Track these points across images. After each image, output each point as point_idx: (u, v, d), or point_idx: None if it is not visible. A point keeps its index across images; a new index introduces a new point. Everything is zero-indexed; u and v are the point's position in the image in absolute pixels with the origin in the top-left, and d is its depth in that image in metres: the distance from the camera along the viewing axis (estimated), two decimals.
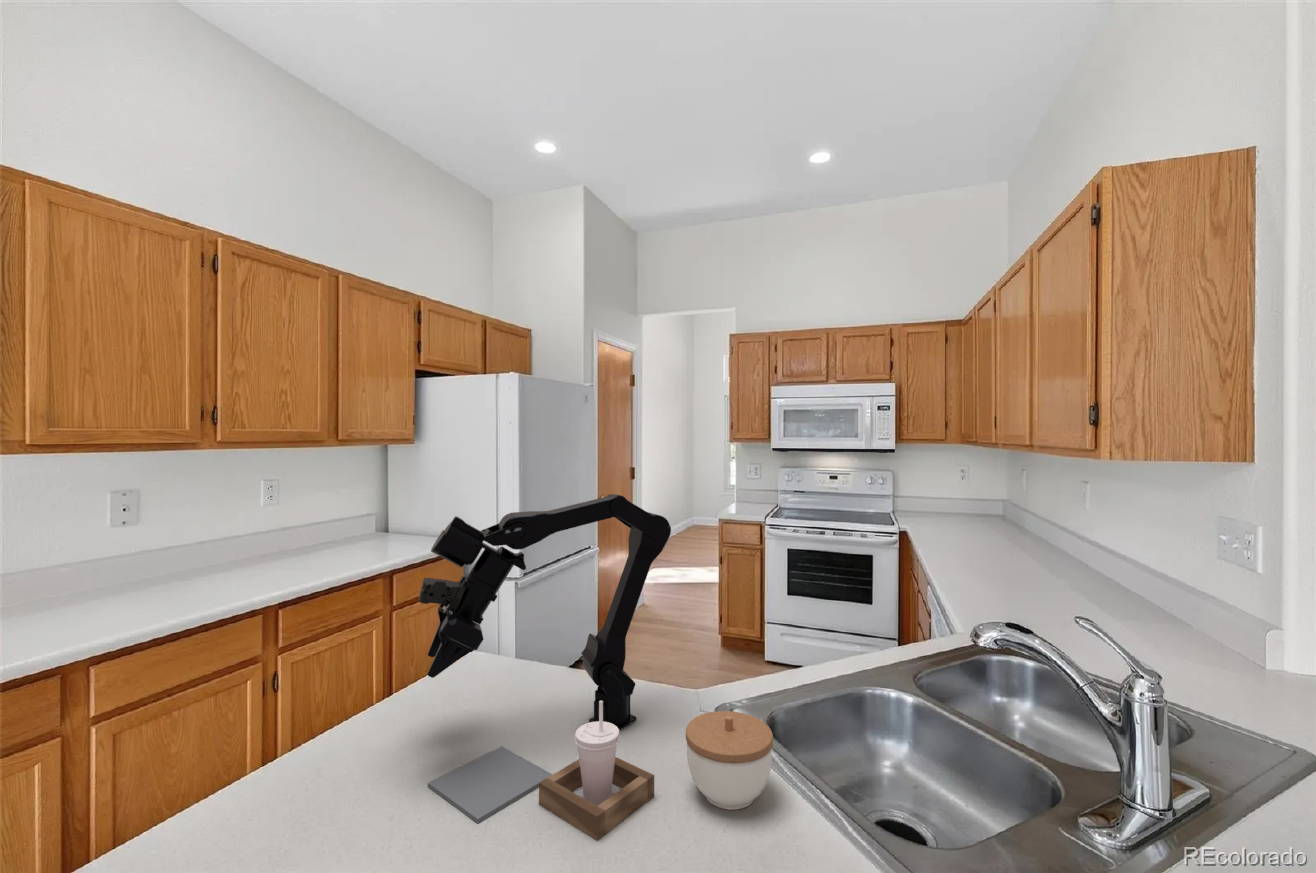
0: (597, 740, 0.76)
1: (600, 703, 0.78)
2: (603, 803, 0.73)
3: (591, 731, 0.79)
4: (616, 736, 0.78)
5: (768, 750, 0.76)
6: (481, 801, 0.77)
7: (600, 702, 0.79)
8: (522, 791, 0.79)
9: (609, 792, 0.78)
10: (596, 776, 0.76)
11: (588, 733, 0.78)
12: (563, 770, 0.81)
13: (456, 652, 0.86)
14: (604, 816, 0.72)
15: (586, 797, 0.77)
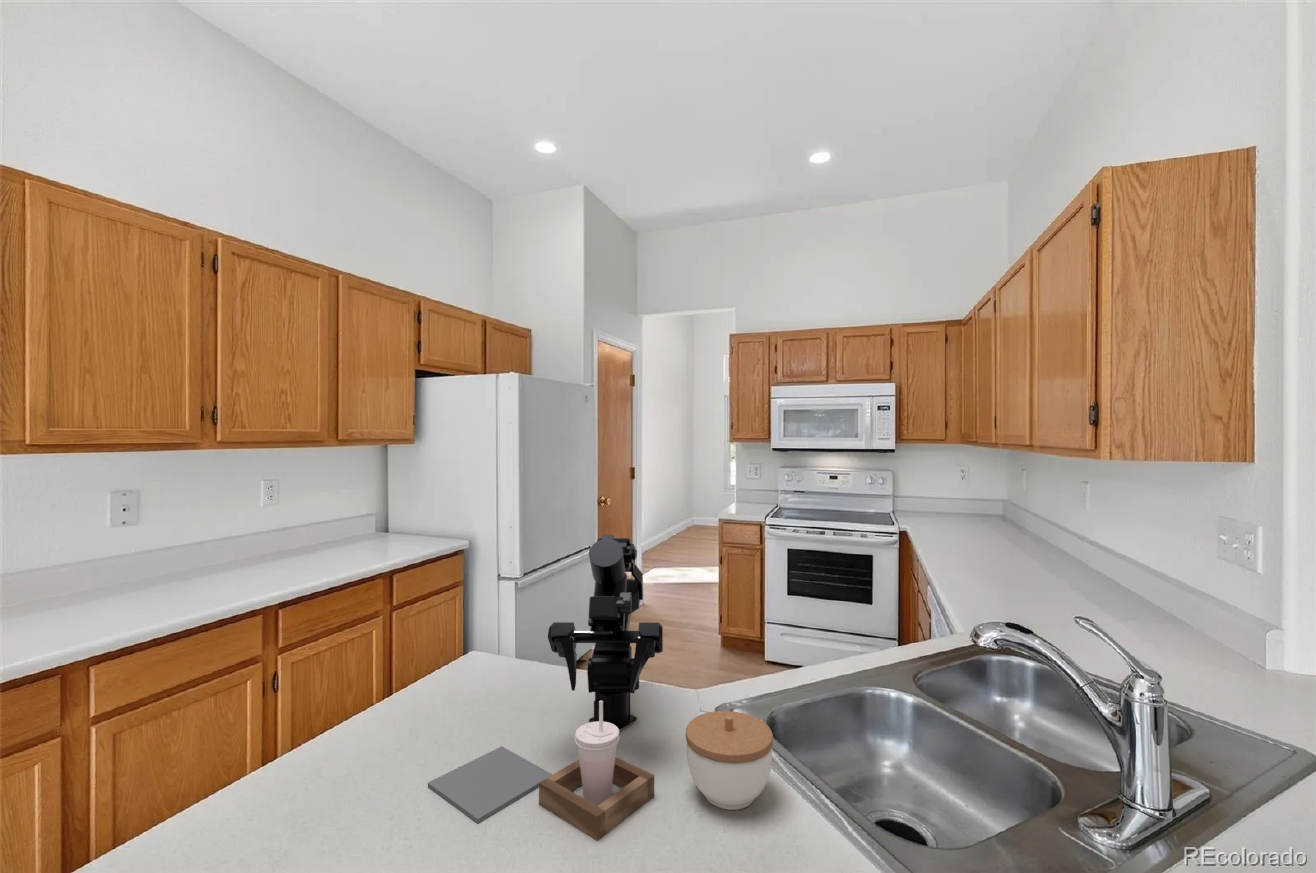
0: (597, 740, 0.76)
1: (600, 703, 0.78)
2: (603, 803, 0.73)
3: (591, 731, 0.79)
4: (616, 736, 0.78)
5: (768, 750, 0.76)
6: (481, 801, 0.77)
7: (600, 702, 0.79)
8: (522, 791, 0.79)
9: (609, 792, 0.78)
10: (596, 776, 0.76)
11: (589, 733, 0.78)
12: (563, 770, 0.81)
13: (642, 661, 0.90)
14: (604, 816, 0.72)
15: (586, 797, 0.77)
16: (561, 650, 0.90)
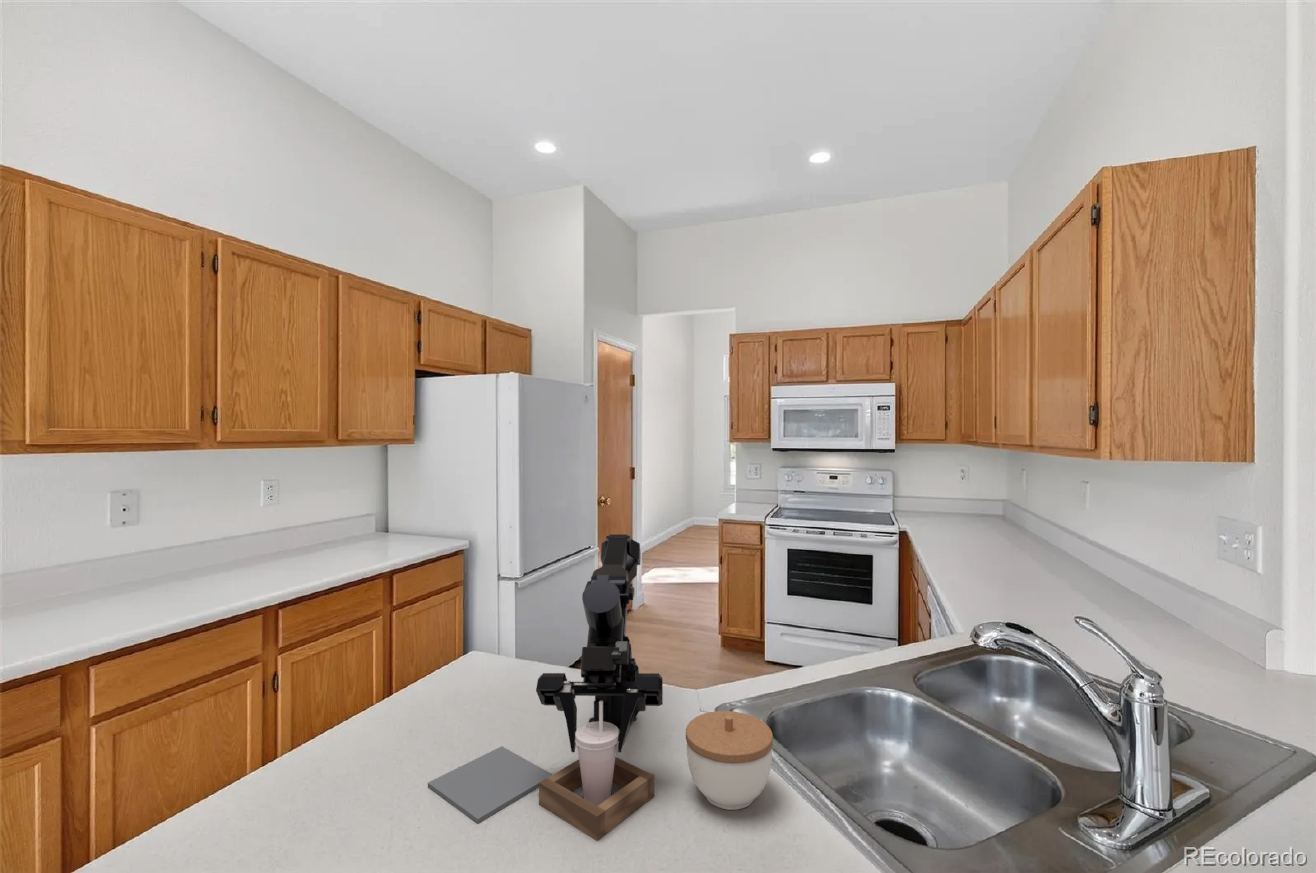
0: (597, 740, 0.76)
1: (600, 703, 0.78)
2: (603, 803, 0.73)
3: (591, 731, 0.78)
4: (616, 736, 0.78)
5: (768, 750, 0.76)
6: (481, 801, 0.77)
7: (600, 702, 0.79)
8: (522, 791, 0.79)
9: (609, 792, 0.78)
10: (596, 776, 0.76)
11: (588, 733, 0.78)
12: (563, 770, 0.81)
13: (632, 716, 0.82)
14: (604, 816, 0.72)
15: (586, 797, 0.77)
16: (560, 704, 0.82)
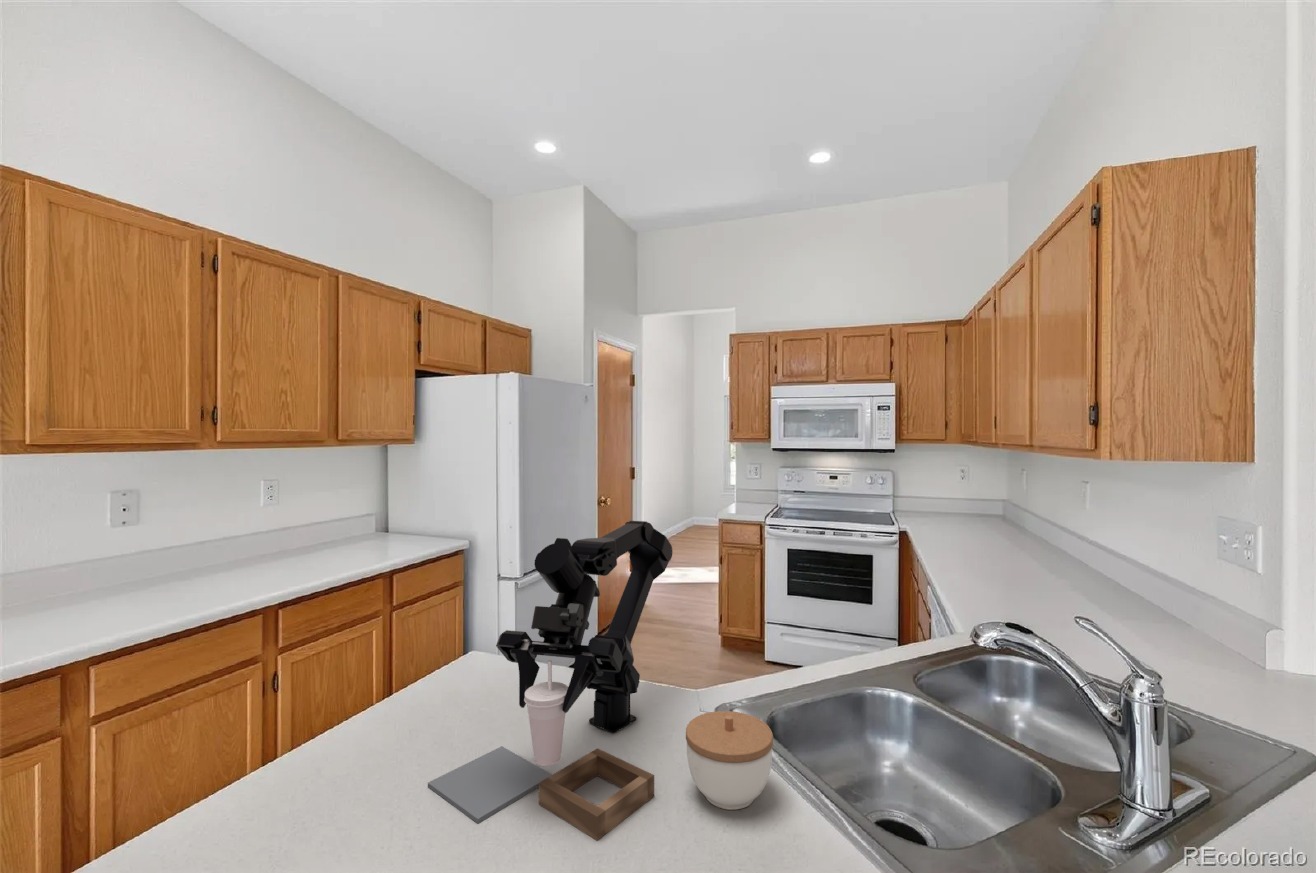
0: (541, 698, 0.77)
1: (548, 662, 0.79)
2: (603, 803, 0.73)
3: (541, 689, 0.79)
4: (562, 696, 0.77)
5: (768, 750, 0.76)
6: (481, 801, 0.77)
7: (548, 662, 0.79)
8: (522, 791, 0.79)
9: (556, 751, 0.78)
10: (540, 733, 0.77)
11: (537, 691, 0.79)
12: (563, 770, 0.81)
13: (585, 679, 0.81)
14: (604, 816, 0.72)
15: (534, 753, 0.78)
16: None
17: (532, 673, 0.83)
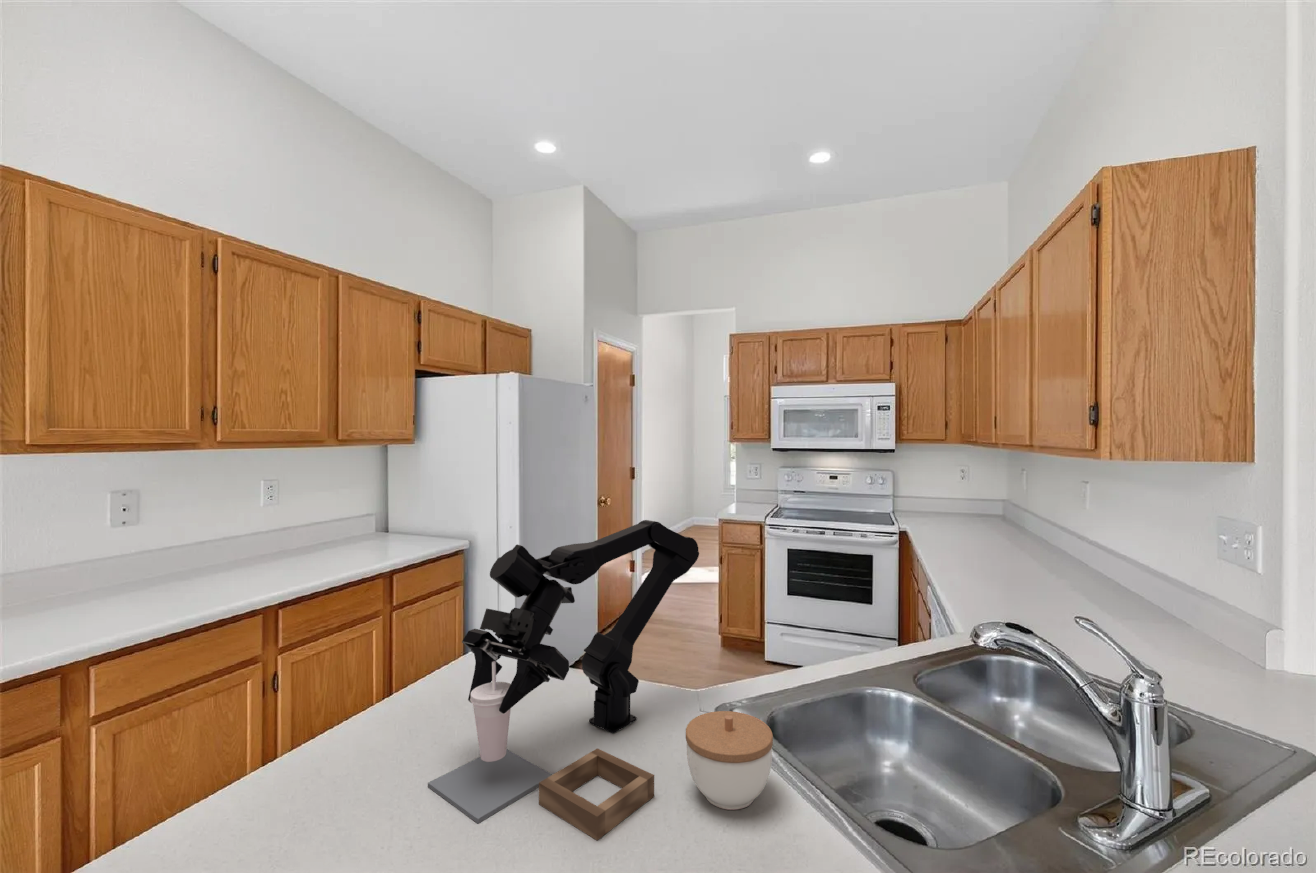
0: (481, 697, 0.81)
1: (492, 663, 0.83)
2: (603, 803, 0.73)
3: (487, 688, 0.83)
4: (500, 697, 0.81)
5: (768, 750, 0.76)
6: (481, 801, 0.77)
7: (492, 662, 0.83)
8: (522, 791, 0.79)
9: (497, 749, 0.81)
10: (481, 730, 0.81)
11: (484, 689, 0.83)
12: (563, 770, 0.81)
13: (530, 683, 0.83)
14: (604, 816, 0.72)
15: (479, 748, 0.82)
16: None
17: (489, 671, 0.87)
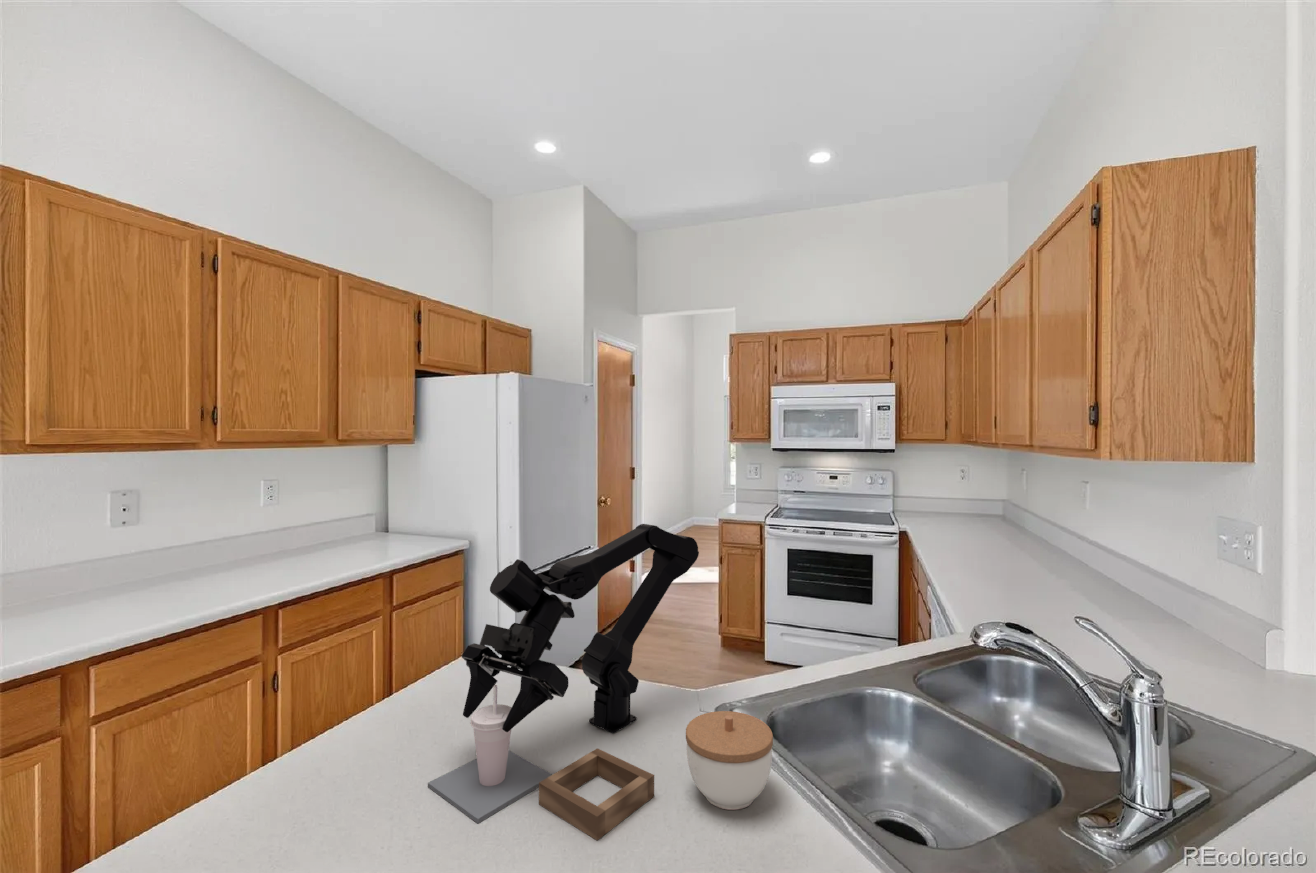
0: (481, 721, 0.81)
1: (493, 687, 0.82)
2: (603, 803, 0.73)
3: (488, 712, 0.83)
4: (500, 722, 0.80)
5: (768, 750, 0.76)
6: (481, 801, 0.77)
7: (494, 686, 0.83)
8: (522, 791, 0.79)
9: (496, 774, 0.81)
10: (480, 754, 0.81)
11: (484, 713, 0.83)
12: (563, 770, 0.81)
13: (534, 701, 0.83)
14: (604, 816, 0.72)
15: None
16: None
17: (484, 686, 0.88)
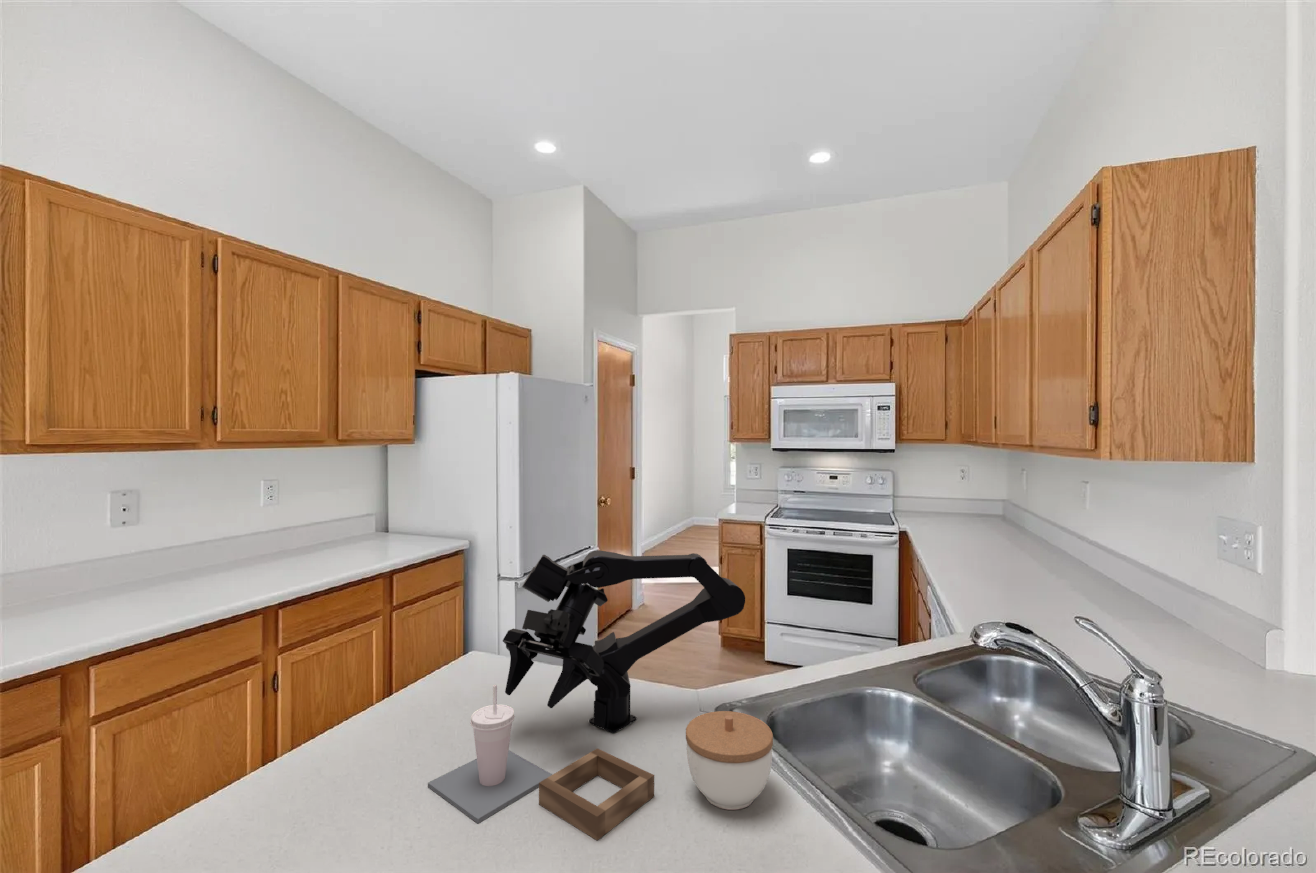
0: (481, 721, 0.81)
1: (493, 687, 0.83)
2: (603, 803, 0.73)
3: (488, 711, 0.83)
4: (500, 722, 0.81)
5: (768, 750, 0.76)
6: (481, 801, 0.77)
7: (493, 686, 0.83)
8: (522, 791, 0.79)
9: (496, 774, 0.81)
10: (480, 754, 0.81)
11: (484, 713, 0.83)
12: (563, 770, 0.81)
13: (574, 681, 0.90)
14: (604, 816, 0.72)
15: None
16: None
17: (523, 666, 0.95)
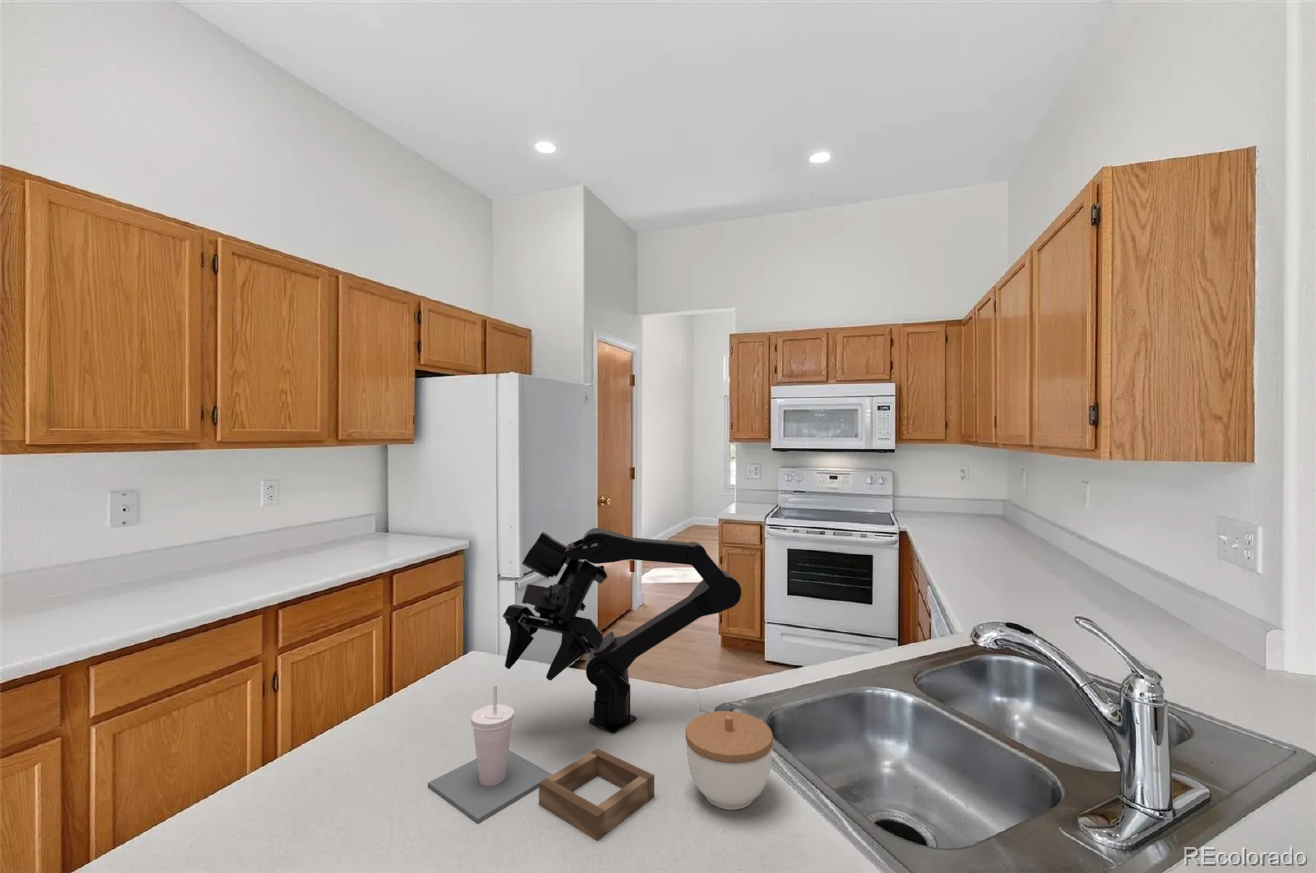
0: (481, 721, 0.81)
1: (493, 687, 0.83)
2: (603, 803, 0.73)
3: (488, 711, 0.83)
4: (500, 722, 0.81)
5: (768, 750, 0.76)
6: (481, 801, 0.77)
7: (493, 686, 0.83)
8: (522, 791, 0.79)
9: (496, 774, 0.81)
10: (480, 754, 0.81)
11: (484, 713, 0.83)
12: (563, 770, 0.81)
13: (573, 654, 0.91)
14: (604, 816, 0.72)
15: None
16: None
17: (523, 641, 0.96)
